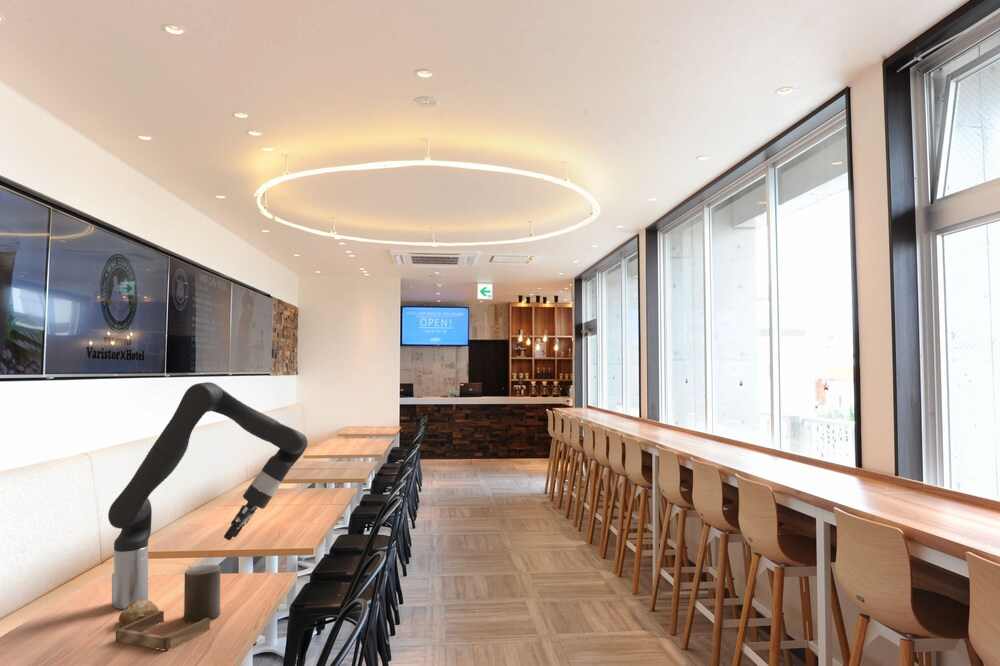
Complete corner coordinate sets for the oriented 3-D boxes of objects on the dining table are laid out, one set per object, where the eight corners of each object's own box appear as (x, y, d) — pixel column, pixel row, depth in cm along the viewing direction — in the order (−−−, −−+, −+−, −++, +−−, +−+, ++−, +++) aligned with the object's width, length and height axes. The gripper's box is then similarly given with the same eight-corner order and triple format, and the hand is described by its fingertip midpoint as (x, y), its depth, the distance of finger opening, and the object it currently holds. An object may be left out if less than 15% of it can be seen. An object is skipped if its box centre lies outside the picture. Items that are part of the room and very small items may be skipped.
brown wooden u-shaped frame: (115, 641, 174) (115, 630, 174) (160, 621, 187) (160, 610, 187) (166, 651, 167) (166, 639, 168) (209, 629, 181) (209, 618, 181)
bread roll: (126, 644, 181) (133, 620, 179) (109, 621, 186) (115, 598, 185) (161, 631, 189) (168, 608, 188) (143, 610, 194) (149, 587, 193)
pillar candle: (201, 625, 184) (202, 571, 184) (176, 620, 187) (176, 567, 188) (228, 613, 193) (228, 561, 193) (203, 608, 196) (203, 558, 197)
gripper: (255, 482, 205) (223, 528, 200) (247, 483, 191) (213, 533, 186) (276, 494, 205) (244, 541, 201) (269, 496, 191) (235, 546, 187)
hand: (229, 537), depth 193 cm, fingers open, 8 cm apart
